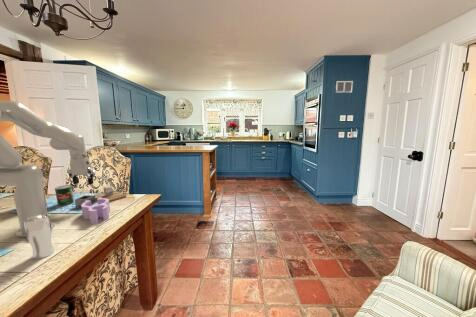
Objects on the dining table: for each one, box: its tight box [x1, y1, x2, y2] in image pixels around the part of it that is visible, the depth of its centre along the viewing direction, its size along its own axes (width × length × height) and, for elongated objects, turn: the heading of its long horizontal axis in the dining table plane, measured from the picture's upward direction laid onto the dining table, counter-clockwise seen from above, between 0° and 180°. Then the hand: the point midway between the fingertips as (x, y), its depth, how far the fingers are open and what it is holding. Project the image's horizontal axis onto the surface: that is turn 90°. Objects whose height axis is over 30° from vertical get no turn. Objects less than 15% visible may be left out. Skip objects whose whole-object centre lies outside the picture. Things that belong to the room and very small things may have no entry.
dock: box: [92, 185, 127, 203], centre depth 135 cm, size 18×14×8 cm
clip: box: [81, 197, 111, 224], centre depth 109 cm, size 20×12×7 cm, turn 43°
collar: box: [74, 194, 97, 209], centre depth 123 cm, size 7×7×5 cm
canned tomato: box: [54, 184, 75, 207], centre depth 126 cm, size 8×8×11 cm
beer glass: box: [24, 214, 55, 260], centre depth 76 cm, size 7×7×15 cm
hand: (83, 183), depth 122 cm, fingers open, 9 cm apart
